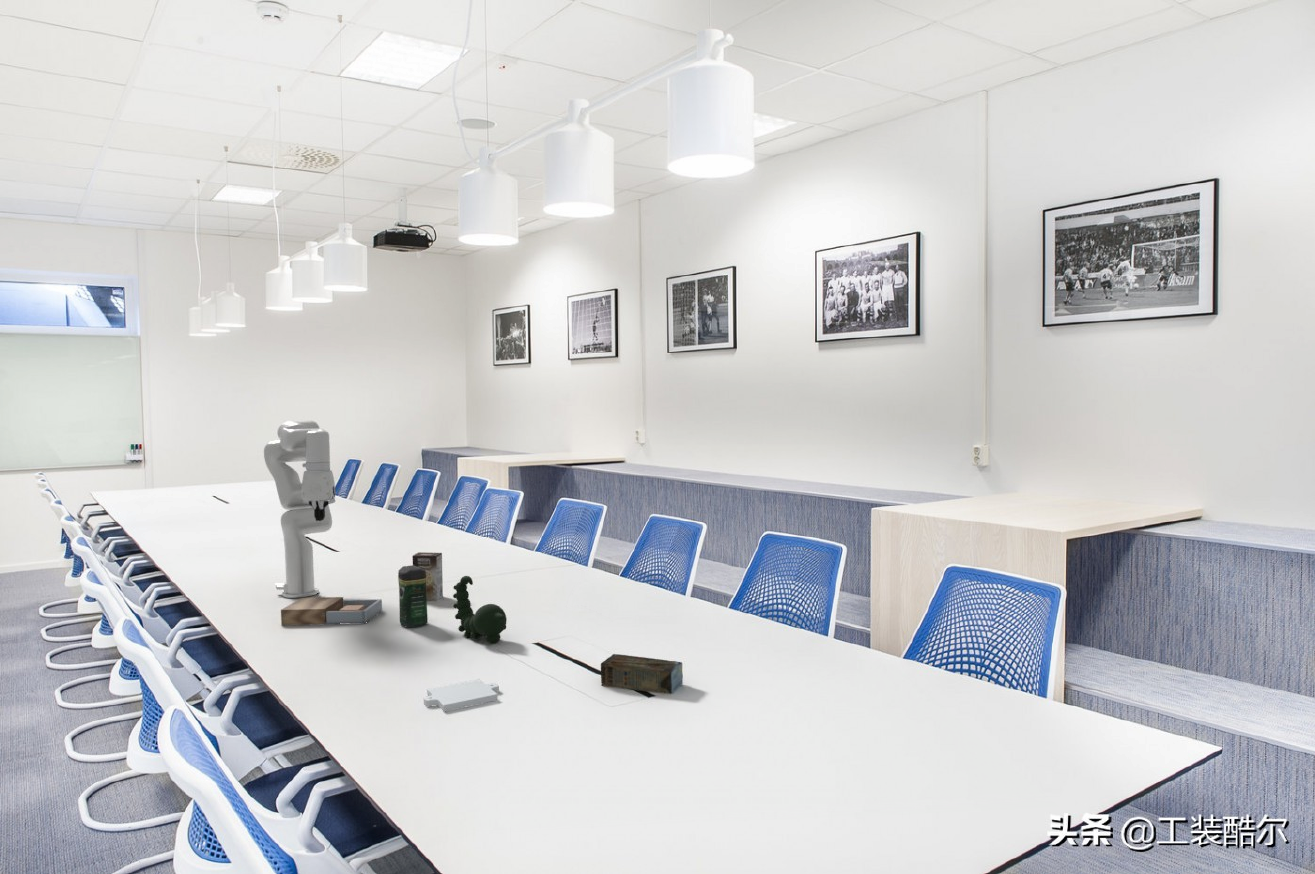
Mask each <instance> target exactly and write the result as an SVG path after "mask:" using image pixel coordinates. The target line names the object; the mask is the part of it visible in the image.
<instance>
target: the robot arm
mask: <svg viewBox="0 0 1315 874" xmlns="http://www.w3.org/2000/svg"><path fill="white" fill-rule="evenodd" d="M277 437H278V438H279V440H278V439H277V440H273V441H269V442H268V443H266V445H265V446H264V448H263V457H264V458H263V459H264V463H265V465H266V468H267V469H268V471H269V473H270V474H271V476H272V477H273V478H272V479H273V480H274V482H275V486H276V491H277V495H278V500H279V503H280V505H281V507H282V508H283V509H284V510H286V511H284V512H283V513H282V515H281V516H280V527H281V531H282V536H283V542H284V559H285V560H284V561H285V562H284V563H285V565H284V566H285V582H284V583H275V588H276V590H277V591H278V590H279V591H280V590H281V591H282V590H283V591H282V594H281V596H282V597H283V598H287V599H298V598H299V599H301V598H308V597H312V596H315V595H317V593H318V594H319V592H320V589H319V588H318V587H315V571H314V567H315V566H314V550H313V549H314V548H313V544H312V543H311V541H310V540H309V538H306V535H310V534H319V533H325V532H327V531H330V530H331V528H332V526H333V517H332V513H331V509H330V506H329V505H331V504H334V503H335V504H336V485H335V483H336V482H335V477H334V474H333V470H331V455H330V454H331V451H330V450H331V449H330V448H331V447H330V434H329V432H328V431H326V430H324V429H323V428H320V426H319V424H318V423H317V422H316V421H313V420H291V421H286V422H285V421H284V422H283V423H282V424H280V425H279V426H278V428H277ZM293 462H295V463H296V462H305V463H302V464H301V465H302V468H305V471H303V473H302V482H301V480H300V476H299V475H300V474H299V473H298V472H297V471H296V470H295V469H294V468H293V467H292V466H290V465H289V464H287V463H293Z"/></svg>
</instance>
